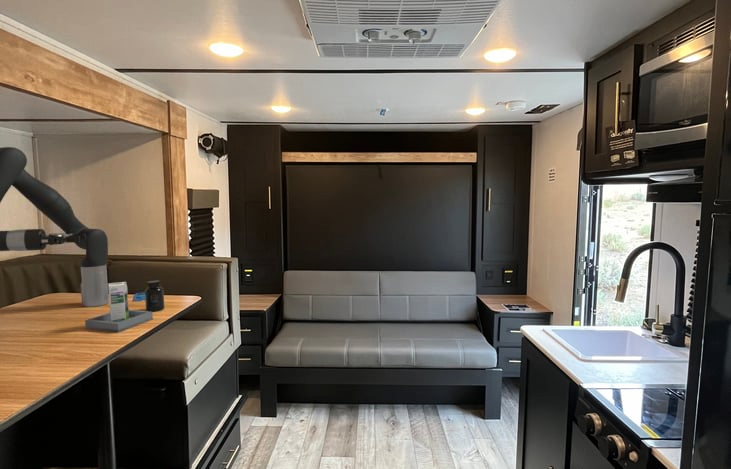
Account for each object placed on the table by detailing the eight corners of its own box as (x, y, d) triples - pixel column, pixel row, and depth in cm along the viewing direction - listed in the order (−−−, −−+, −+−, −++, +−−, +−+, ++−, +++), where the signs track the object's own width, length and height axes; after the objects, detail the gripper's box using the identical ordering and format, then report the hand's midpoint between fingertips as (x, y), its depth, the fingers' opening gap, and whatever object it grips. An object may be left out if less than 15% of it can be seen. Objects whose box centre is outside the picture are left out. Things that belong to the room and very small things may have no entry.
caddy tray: (85, 328, 141) (85, 320, 141) (122, 316, 156) (121, 308, 155) (118, 332, 137) (117, 323, 137) (152, 319, 151) (152, 311, 151)
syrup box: (111, 325, 142) (108, 285, 141) (110, 320, 147) (108, 282, 146) (129, 322, 146) (126, 283, 144) (128, 318, 150) (126, 280, 149)
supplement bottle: (168, 307, 168) (166, 279, 166) (158, 312, 161) (156, 283, 160) (152, 307, 168) (151, 279, 167) (142, 311, 162) (140, 283, 160)
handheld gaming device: (133, 299, 178) (135, 292, 191) (133, 302, 178) (135, 295, 191) (154, 297, 181) (154, 290, 195) (154, 300, 181) (154, 293, 195)
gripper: (17, 230, 131) (76, 229, 138) (33, 227, 144) (86, 226, 151) (19, 253, 132) (78, 250, 139) (35, 248, 145) (88, 245, 151)
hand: (82, 237), depth 145 cm, fingers open, 8 cm apart
